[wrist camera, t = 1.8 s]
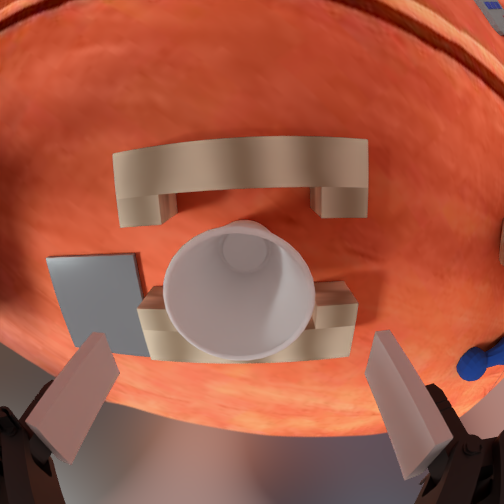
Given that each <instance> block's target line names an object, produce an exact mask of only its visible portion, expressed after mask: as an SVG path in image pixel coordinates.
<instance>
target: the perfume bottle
mask: <svg viewBox="0 0 504 504" xmlns="http://www.w3.org/2000/svg"><path fill="white" fill-rule="evenodd" d="M499 261H500V263H501V264H502V265H503V266H504V218H503V225H502V234H501V242H500V252H499Z"/></svg>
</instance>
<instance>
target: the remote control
mask: <svg viewBox="0 0 504 504" xmlns="http://www.w3.org/2000/svg"><path fill="white" fill-rule="evenodd" d="M474 1H475V3H476V4H477V5H478V7H479V8H480V9H481V11H482V12H483V14H484V15H485V17H486V18H487V20H488V21H489V23H490V24H491V26H492V27H493V28H494V30H495V31H496V32H497V33H498V34H499V35H504V9H503V8H502V6H501V5H500V4H499V2H498V1H497V0H474Z"/></svg>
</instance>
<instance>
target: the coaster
mask: <svg viewBox="0 0 504 504" xmlns="http://www.w3.org/2000/svg"><path fill="white" fill-rule="evenodd" d="M46 261H47V265H48V269H49V273H50V276H51V280H52V283H53V287H54V290H55V293H56V296H57V299H58V302H59V305H60V308H61V311H62V314H63V317H64V320H65V322H66V325H67V327H68V330H69V333H70V335H71V338H72V340H73V342H74V345H75V347H79V348H80V347H81V346H82V344H83V343H84V342H85V341H86V340H87V338H88V337H89V336H90V335H91V334H92V332H98V333H105V336H106V339H107V342H108V344H109V347H110V350H111V352H112V353H118V354H126V355H135V356H145V357H150V354H149V350H148V347H147V344H146V341H145V337H144V334H143V330H142V327H141V323H140V319H139V316H138V312H137V308H138V306H139V305H140V303H141V302H142V301H143V299H144V296H143V291H142V287H141V282H140V277H139V272H138V267H137V261H136V256H135V253H123V254H98V255H73V256H49V257H47V258H46Z"/></svg>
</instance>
